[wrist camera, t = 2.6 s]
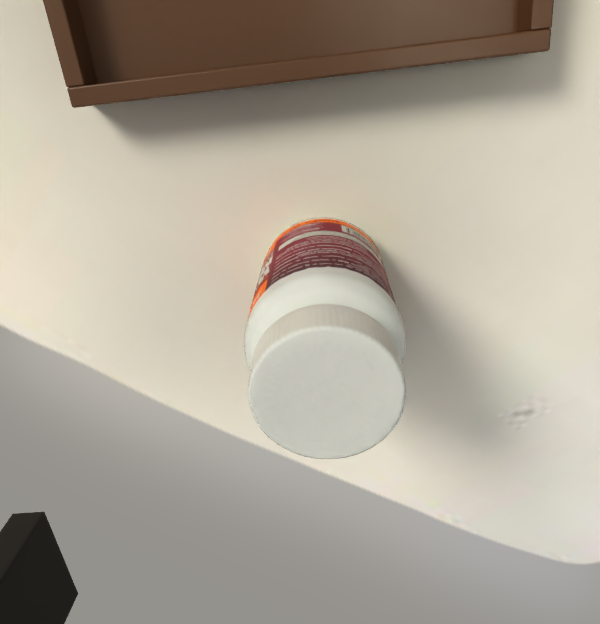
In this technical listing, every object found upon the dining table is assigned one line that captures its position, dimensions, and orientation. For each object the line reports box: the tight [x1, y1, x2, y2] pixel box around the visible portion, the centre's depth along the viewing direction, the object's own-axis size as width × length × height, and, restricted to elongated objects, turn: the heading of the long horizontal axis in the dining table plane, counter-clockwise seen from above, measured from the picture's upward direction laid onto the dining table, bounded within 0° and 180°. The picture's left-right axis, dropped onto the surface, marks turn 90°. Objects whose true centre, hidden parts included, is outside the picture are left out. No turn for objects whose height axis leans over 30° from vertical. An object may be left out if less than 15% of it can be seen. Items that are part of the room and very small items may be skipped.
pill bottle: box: [244, 217, 406, 459], centre depth 22 cm, size 6×6×11 cm
